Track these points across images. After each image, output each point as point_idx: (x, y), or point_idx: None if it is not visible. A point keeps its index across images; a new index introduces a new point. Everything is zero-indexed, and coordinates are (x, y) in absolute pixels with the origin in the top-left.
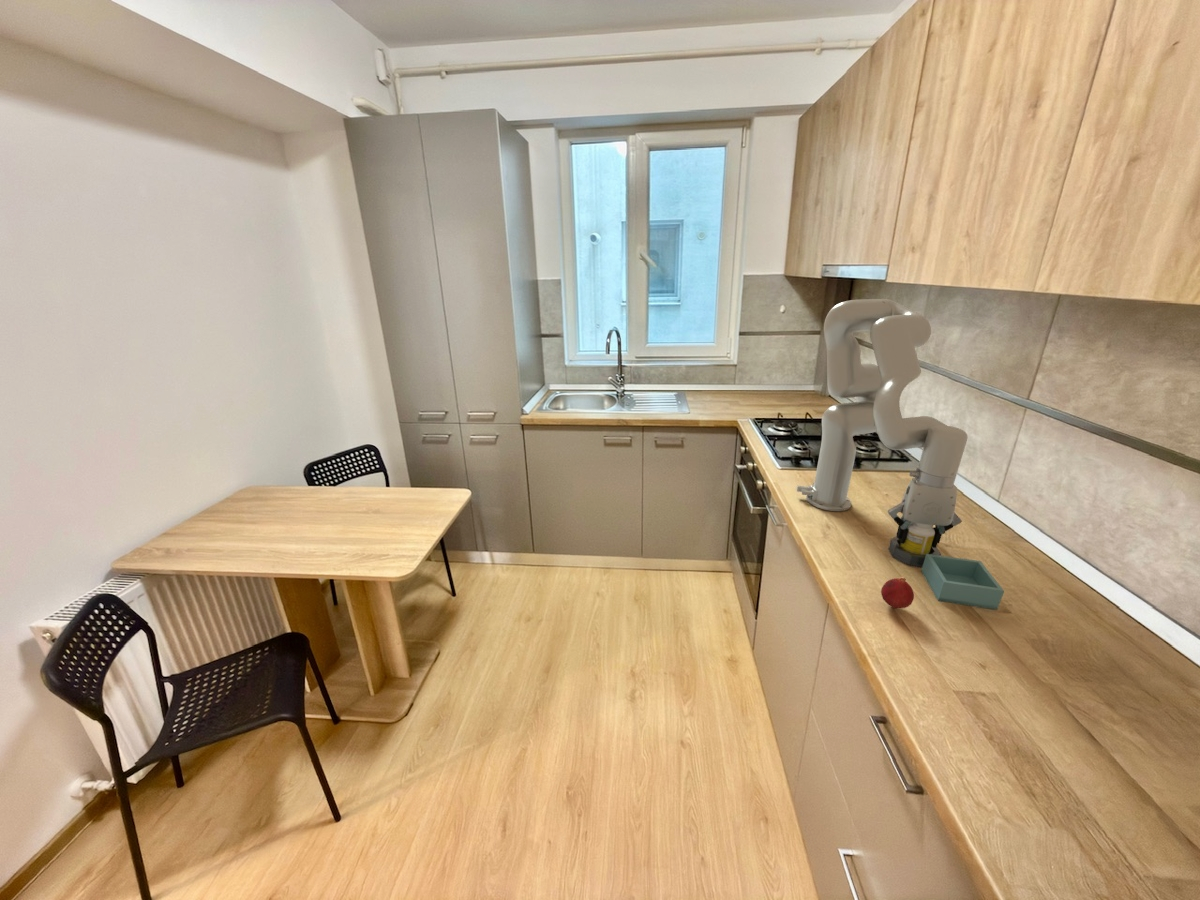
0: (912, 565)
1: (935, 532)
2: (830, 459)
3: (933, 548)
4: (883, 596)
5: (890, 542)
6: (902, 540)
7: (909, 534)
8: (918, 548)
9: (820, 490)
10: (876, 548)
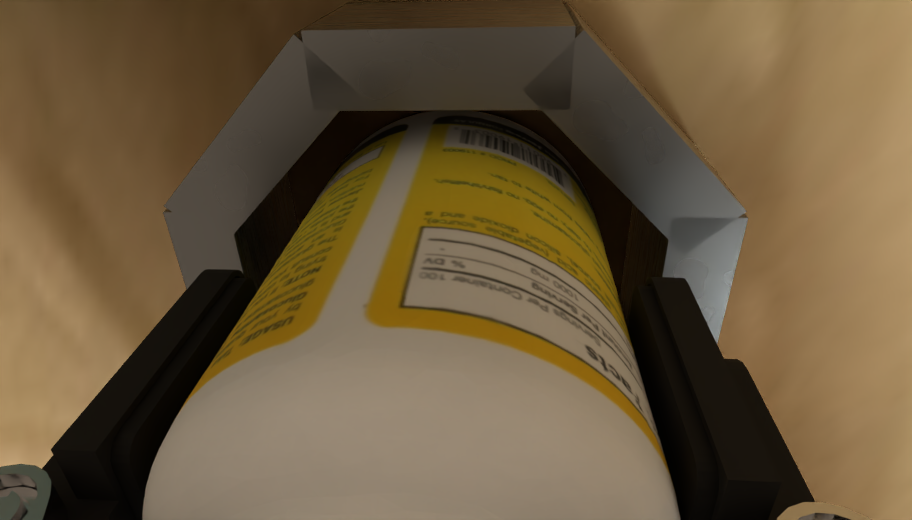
0: (532, 3)
1: (140, 500)
2: None
3: None
4: None
5: None
6: (696, 304)
7: (638, 400)
8: (464, 184)
9: None
10: (798, 292)
